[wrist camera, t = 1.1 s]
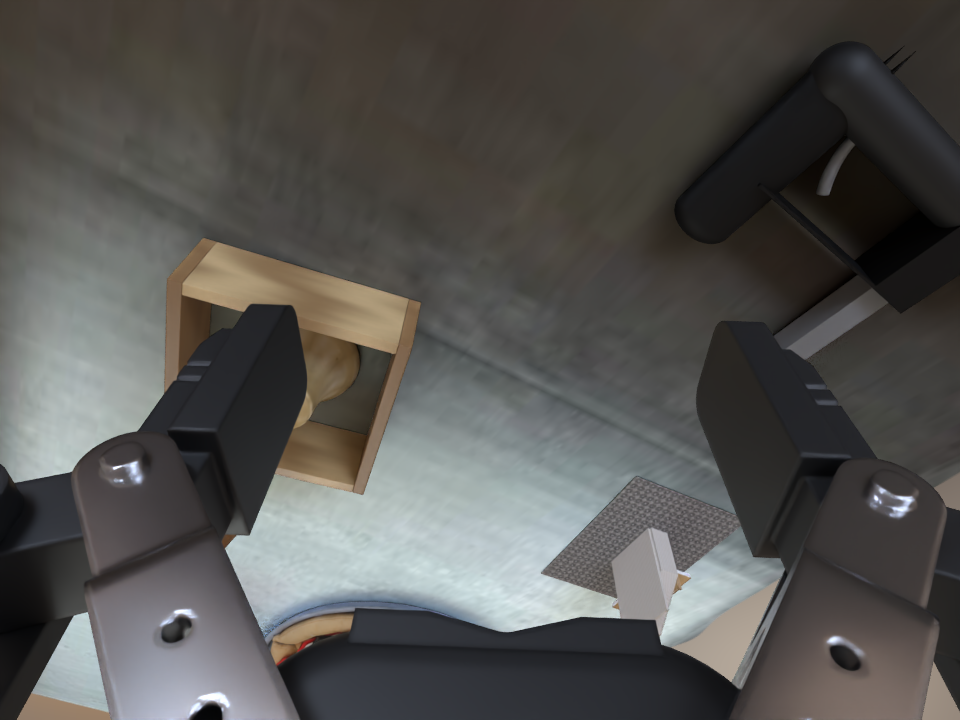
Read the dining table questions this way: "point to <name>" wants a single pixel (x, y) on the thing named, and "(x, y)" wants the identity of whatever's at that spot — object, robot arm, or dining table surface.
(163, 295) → the dining table surface
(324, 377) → the hand bell
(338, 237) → the dining table surface
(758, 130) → the toy submachine gun
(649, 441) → the dining table surface
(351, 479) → the crate
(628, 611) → the architectural model
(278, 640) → the toy pizza
